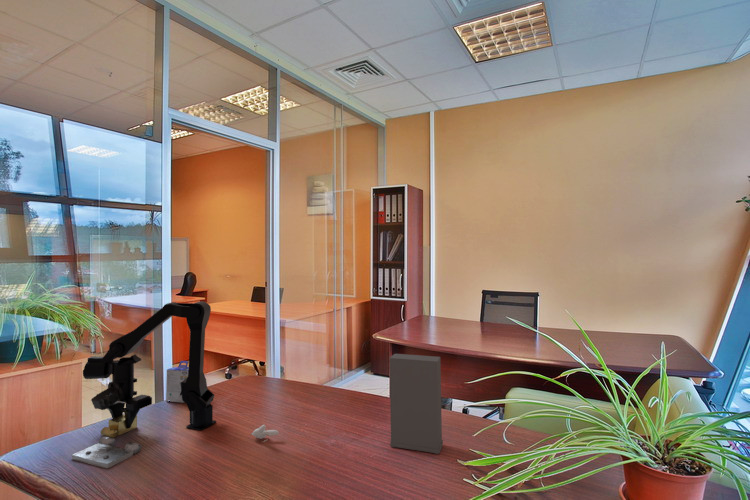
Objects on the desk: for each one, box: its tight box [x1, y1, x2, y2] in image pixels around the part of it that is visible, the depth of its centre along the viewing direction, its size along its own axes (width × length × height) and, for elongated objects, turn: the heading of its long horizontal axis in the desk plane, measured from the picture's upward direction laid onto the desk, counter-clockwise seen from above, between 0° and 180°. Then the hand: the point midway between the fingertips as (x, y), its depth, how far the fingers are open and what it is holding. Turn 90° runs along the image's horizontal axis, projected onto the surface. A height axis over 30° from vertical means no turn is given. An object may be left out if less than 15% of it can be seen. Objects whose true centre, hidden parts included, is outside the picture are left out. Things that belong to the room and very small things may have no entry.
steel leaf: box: [71, 436, 142, 470], centre depth 104 cm, size 14×9×2 cm
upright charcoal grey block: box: [389, 353, 444, 455], centre depth 108 cm, size 14×6×25 cm, turn 71°
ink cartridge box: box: [165, 360, 189, 404], centre depth 146 cm, size 10×6×14 cm, turn 78°
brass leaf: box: [100, 413, 138, 439], centre depth 119 cm, size 4×8×4 cm, turn 159°
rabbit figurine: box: [250, 424, 280, 443], centre depth 112 cm, size 6×4×8 cm
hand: (123, 427), depth 120 cm, fingers closed on brass leaf, 4 cm apart
